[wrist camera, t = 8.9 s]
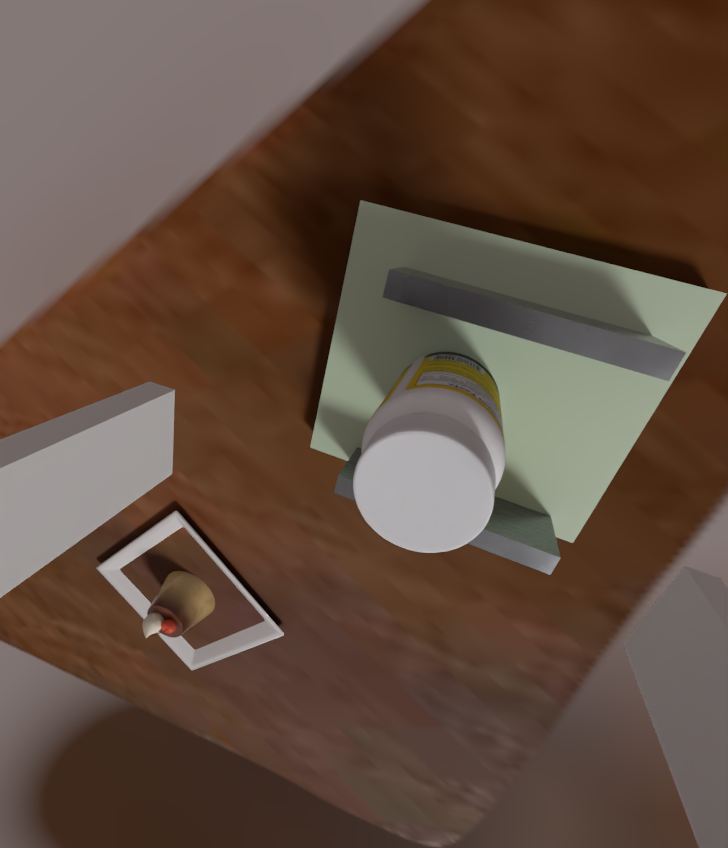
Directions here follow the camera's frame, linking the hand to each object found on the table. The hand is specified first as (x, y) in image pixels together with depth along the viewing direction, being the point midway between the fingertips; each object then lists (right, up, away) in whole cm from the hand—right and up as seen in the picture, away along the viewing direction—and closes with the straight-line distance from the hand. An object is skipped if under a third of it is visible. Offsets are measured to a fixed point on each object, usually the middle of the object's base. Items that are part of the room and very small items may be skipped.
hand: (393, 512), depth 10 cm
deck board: (+5, +4, +9) cm, 11 cm away
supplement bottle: (+3, +3, +8) cm, 10 cm away
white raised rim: (-14, -11, +22) cm, 28 cm away
